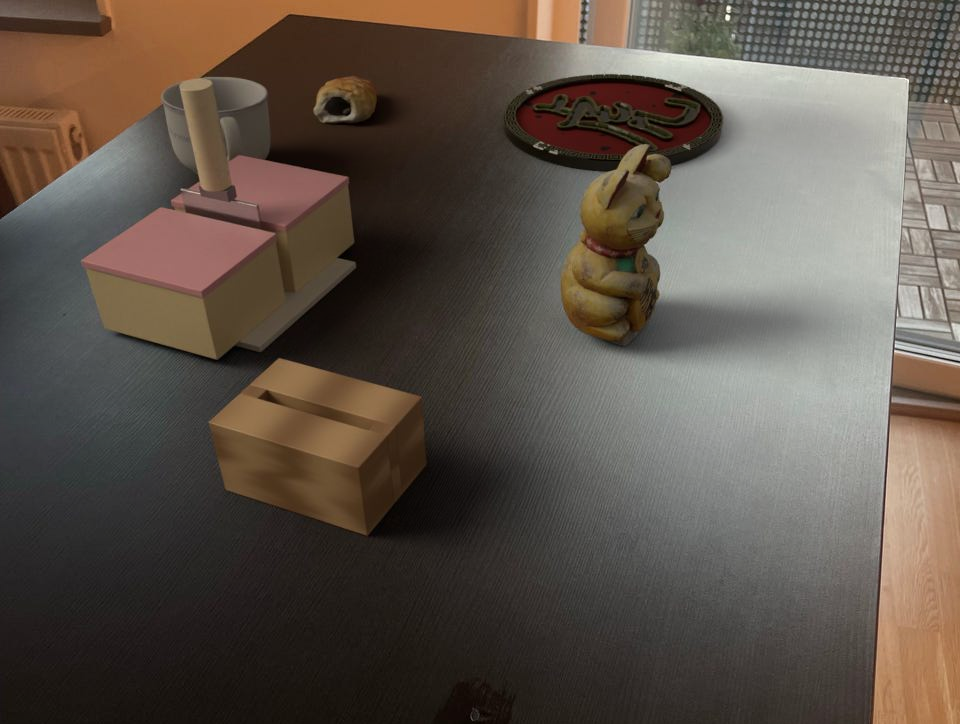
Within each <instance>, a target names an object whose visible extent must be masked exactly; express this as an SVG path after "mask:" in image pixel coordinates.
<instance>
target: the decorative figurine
mask: <svg viewBox="0 0 960 724" xmlns="http://www.w3.org/2000/svg"><path fill="white" fill-rule="evenodd" d="M650 148H651V146H650V145H647V144H643V145H639V146H636V147H634V148H633V149H631V150H630V151H628V152H627V154H626V155H625V156H624V157H623V159H622V160H621V162H620V164H619V166H618V168H617V170H613V171H606V172H605V173H602V174H600V175H599V176H598V177H596V178H594V180H593V181H592V182H591V183H590V184H589V186H588V187H587V189H586V190H585V192H584V194H583V197H582V199H581V202H580V207H579V208H580V209H579V216H580V221H581V224H582V226H583V229H584V230H583V231H582V232H581V234H580V235H579V237H580V240H579V241H578V242H577V243H576V244H575V245H574V246H573V247H572V248H571V249H570V251H569V253H568V254H567V256H566V259H565V261H564V264H563V267H562V271H561V275H560V296H561V302H562V306H563V310H564V312H565V314H566V316H567V319H568V320H569V322H570V323H571V324H572V326H574V328H576V329H577V330H578V331H580V332H582V333H584V334H586V335H589V336H590V337H594V338H598V339H602V340H603V341H605V342H609V343H613V344H615V345H619V346H624V347H625V346H628V344H630V342H632V341H633V340H635V339H636V337H637V335H638V334H639V333H640V332H641V331H642V330H643V328H644V327H645V326H646V325H647V324H648V322H649V320H650V319H651V317H652V315H653V313H654V310H655V306H656V303H657V301H658V300H659V297H660V291H659V289H658V284H659V282H660V279H661V266H660V264H659V262H658V259H656V257H654V256H653V255H651V254H650V253H648V250H647V248H646V244H648V243H649V242H650V240H651V239H653V238H654V237H655V236H656V234H657V232H658V229H659V228H660V227H662V225H663V223H664V218H665V212H664V209H663V205H662V201H661V199H660V189H661V188H660V186H659V184H661V183H662V182H664V181H665V180H667V179H669V178H670V176H671V173H672V168H673V167H672V165H671V163H670V160H669V159H668V158H666V157H665V156H663V155H659V154H652V155H648V153H649V151H650ZM647 155H648V156H647Z"/></svg>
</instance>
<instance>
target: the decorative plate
mask: <svg viewBox="0 0 960 724" xmlns="http://www.w3.org/2000/svg"><path fill="white" fill-rule="evenodd" d="M723 115H724V114H723V112H722V110H721V108H720V107H719V105H718V104H717V103H716V102H715V101H714V100H713V99H712V98H710V97H709V96H707V94H704V93H703V92H701V91H699V90H697V89H696V88H692V87H689V86H687V85H684V84H682V83H678V82H675V81H671V80H667V79H663V78H656V77H653V76H644V75H635V74H625V73H624V74H623V73H622V74H621V73H620V74H618V73H604V74H603V73H598V74H597V73H595V74H584V75H575V76H568V77H563V78H556V79H555V80H549V81H545V82H542V83H539V84H537V85H534V86H531V87H530V88H527V89H525V90H524V91H521V92H520V93H518V94H517V95H516V96H514V98H512V99H511V100H510V101H509V102H508V103H507V106H506V108H505V110H504V112H503V130H504V134H505V135H506V138H507V139H508V140H509V141H510V143H512V144H513V146H515V147H517V149H519V150H521V151H522V152H524V153H526V154H528V155H530V156H531V157H534V158H537V159H539V160H542V161H544V162H548V163H551V164H554V165H559V166H563V167H567V168H573V169H579V170H586V169H588V171H590V170H589V169H593V170H592V171H596V170H604V171H603V172H609V171H613V170H617V168H618V166H619V164H620V162H621V160H622V159H623V157H624V156H625V155H626V154H627V152H628V151H630V150H631V149H633V148H634V147H636V146H639V145H643V144H647V145H650V146H651V148H650V151H649V153H648V155H652V154H659V155H663V156H665V157H666V158H668V159H669V160H670V163H671V166H675V165H679V164H682V163H685V162H687V161H690V160H694V159H695V158H697V157H699V156H702V155H703V154H705V153H707V152H708V151H710V150H711V149H712V148H713V147H715V145H717V143H719V141H720V138H721V137H722V134H723V127H724V116H723ZM648 155H647V156H648Z"/></svg>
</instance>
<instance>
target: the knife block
mask: <svg viewBox="0 0 960 724" xmlns="http://www.w3.org/2000/svg"><path fill="white" fill-rule="evenodd" d="M424 420H425V419H424V406H423V397H422V396H420V395H417V394H413V393H411V392H410V393H409V392H406V391H402V390H399V389H395V388H391V387H387V386H384V385H381V384H376V383H373V382H369V381H365V380H362V379H358V378H354V377H350V376H348V375H343V374H340V373H336V372H332V371H328V370H325V369H321V368H317V367H314V366H310V365H306V364H303V363H300V362H296V361H292V360H289V359H285V358H281V357H278V358H277V359H276V360H274V362H273V363H272V364H271V365H270V366H269V367H268V368H267V369H265V370H264V371H263V372H262V373H260V375H258V376H257V377H256V378H255V379H254V380H253V381H252V382H251V383H250V384H249V385H247V386H246V387H245V388H244V389H242V391H241V392H240V393H239V394H237V395H236V397H235V398H233V400H231V401H230V402H229V403H228V404H227V405H226V406H225V407H223V408H222V409H221V410H220V411H219V412H218V413H217V414H216V415H215V416H213V417H212V418H211V419H210V420H209V421H208V426H209V430H210V434H211V437H212V442H213V446H214V449H215V450H214V451H215V453H216V457H217V461H218V466H219V469H220V473H221V477H222V480H223V485H224V488H225V491H228V492H230V493H234V494H237V495H240V496H243V497H246V498H249V499H253V500H255V501H258V502H261V503H265V504H267V505H270V506H274V507H277V508H280V509H283V510H286V511H290V512H292V513H295V514H299V515H302V516H305V517H308V518H311V519H314V520H317V521H320V522H323V523H327V524H329V525H333V526H336V527H338V528H342V529H345V530H348V531H351V532H354V533H356V534H360V535H364V536H367V537H368V536H369V535H370V534H371V533H372V531H374V529H375V528H376V527H377V526H378V525H379V523H380V522H381V521H382V520H383V518H384V517H385V516H386V514H387V513H388V512H389V511H390V510H391V508H392V507H393V506H395V505H394V504H396V503H397V501H398V500H399V499H400V497H401V496H402V495H403V494H404V492H406V491H407V489H408V488H409V487H410V485H411V484H412V483H413V482H414V481H415V479H416V478H417V477H418V476H419V475H420V474H421V472H422V471H423V470H424V468H425V467H426V466H427V451H426V436H425V422H424Z"/></svg>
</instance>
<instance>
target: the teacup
mask: <svg viewBox="0 0 960 724" xmlns="http://www.w3.org/2000/svg"><path fill="white" fill-rule="evenodd" d="M198 78H199V77H198ZM198 78H197V77H196V79H198ZM200 78H201V79H208V80H210V81H212V83H213V88H214V94H215V99H216V104H217V109H218V114H219V119H220V124H221V130H222V135H223V140H224V145H225V150H226V155H227V160H228V162H229V161H231V160H232V159H234V158H235V157H237V156H238V155H242V156H247V157H252V158H257V159H261V160H266V159H267V158H268V155H269V154H270V150H271V149H270V148H271V125H270V113H269V105H268V104H269V103H268V97H269V93H268V89H267V88H266V87H265V86H264V85H262V84H261V83H258V82H255V81H254V80H249V79H245V78H241V77H240V78H239V77H231V76H205V77H200ZM187 80H188V79H187ZM187 80H183V81H180V82H177V83H174V84H172V85H170V86H168V87H167V88H165V89H164V90H163V91H162V93H160V94H161V95H160V100H161V103H162V104H163V109H164V114H165V120H166V125H167V130H168V135H169V140H170V143H171V146H172V149H173V152H174V154H175V156H176V158H177V159H178V160H179V162H180V163H182V164H183V165H184V166H185V167H187V169H190V170H192V172H193V173H194V174H196V175H198V170H197V165H196V161H195V156H194V152H193V147H192V142H191V138H190V133H189V129H188V124H187V119H186V115H185V110H184V106H183V101H182V96H181V92H180V87H179V86H180V84H181V83H182V82H184V81H187ZM198 176H199V175H198Z"/></svg>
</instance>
